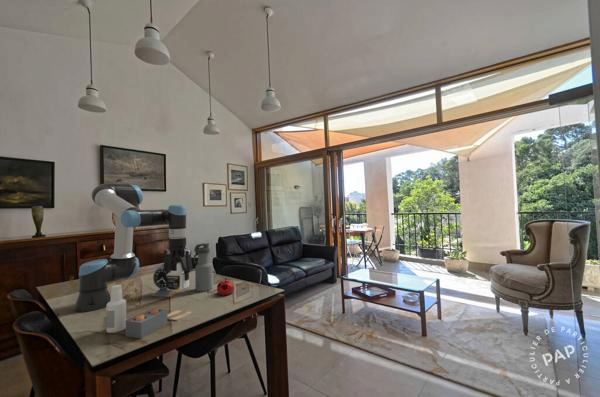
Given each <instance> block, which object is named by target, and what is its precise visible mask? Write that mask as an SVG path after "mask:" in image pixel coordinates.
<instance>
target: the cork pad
mask: <svg viewBox="0 0 600 397" xmlns="http://www.w3.org/2000/svg"><path fill="white" fill-rule="evenodd" d="M190 314H192V311H188V310H181V309H180V310H178V309H175V310H173V311H172V312H169V313H167V321H173V320H175V322H179V321H180V320H181V318H182V319H183V318H185V317H187V316H189V315H190Z"/></svg>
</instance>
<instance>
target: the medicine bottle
mask: <svg viewBox="0 0 600 397" xmlns="http://www.w3.org/2000/svg"><path fill="white" fill-rule="evenodd" d="M183 273H184V272H183V269H182V266H181V263H180V261H175V262H174V263H172V264H171V273H170V274H167V275H166V290H175V291H182V290H184V289H185V288H183V286H182V274H183ZM188 287H190V279H189V280H188Z"/></svg>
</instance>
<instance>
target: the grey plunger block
mask: <svg viewBox="0 0 600 397" xmlns="http://www.w3.org/2000/svg"><path fill="white" fill-rule="evenodd" d="M153 308H154V307H152V308H150V309H148V310H145V311H143V312H140V313H139V314H138V315H142V314H143V315H144V319H143V320H141V321H136V316H137V315H135V316H133V317H130V318H129V319H126V328H125V337H128V338H129V337H131V338H136V339H143V338H145V337H147V336H149V335H150V334H152V333H155V331H158V330H159V329H161V328H163V327H164V326H166V325H168V320H167V314H168V309H162V308H158V313H155V314H150V310H151V309H153Z"/></svg>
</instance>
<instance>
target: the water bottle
mask: <svg viewBox="0 0 600 397" xmlns="http://www.w3.org/2000/svg"><path fill="white" fill-rule="evenodd" d="M193 249H194V253H195V254H194V255H193V263H194V264H195V268H194V269H195V270H194V271H195V274H194V275H195V285H194V286H195V291H197V292H208V291H211V290H212V289H213V264H212V263H211V262H210V252H211V250H210V243H205V242H203V243H198V244H196V245H195V246H194V248H193ZM196 256H197V261H196Z"/></svg>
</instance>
